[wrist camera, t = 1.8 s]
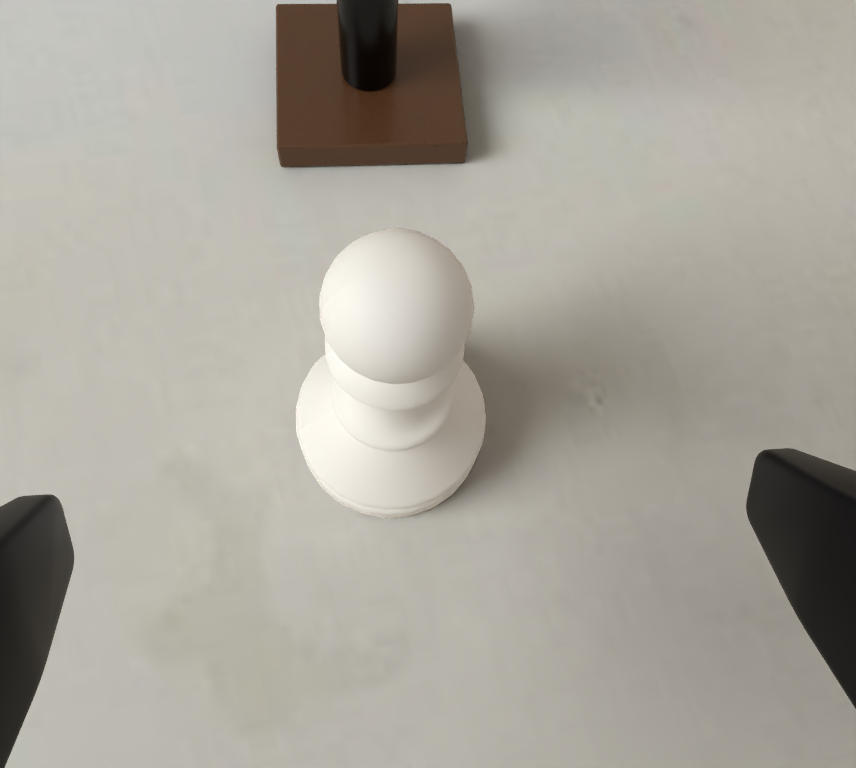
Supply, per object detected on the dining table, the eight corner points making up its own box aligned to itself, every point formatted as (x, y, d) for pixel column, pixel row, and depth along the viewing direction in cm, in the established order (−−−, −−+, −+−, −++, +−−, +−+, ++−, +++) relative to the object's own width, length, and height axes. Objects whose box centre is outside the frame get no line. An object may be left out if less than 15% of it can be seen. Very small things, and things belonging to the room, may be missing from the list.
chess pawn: (456, 335, 21) (505, 128, 13) (498, 498, 20) (586, 380, 11) (287, 366, 21) (226, 168, 12) (317, 537, 19) (268, 442, 11)
